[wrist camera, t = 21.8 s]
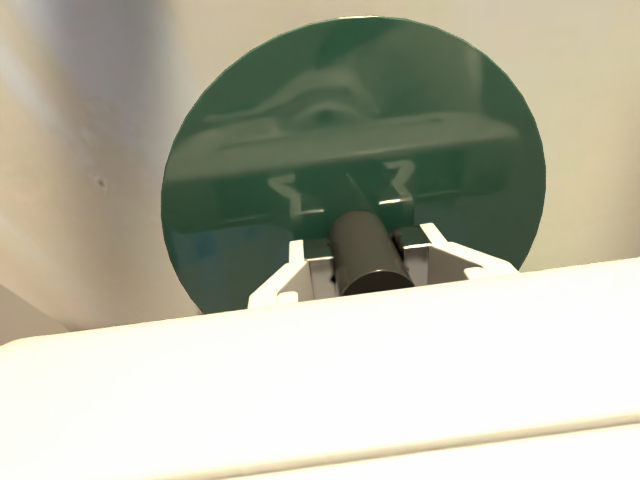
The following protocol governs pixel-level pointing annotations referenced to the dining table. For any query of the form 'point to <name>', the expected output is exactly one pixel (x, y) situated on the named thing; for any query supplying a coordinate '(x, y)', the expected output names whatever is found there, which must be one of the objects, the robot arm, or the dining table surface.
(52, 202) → the dining table surface
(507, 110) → the lid
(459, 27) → the dining table surface
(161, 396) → the robot arm
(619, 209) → the dining table surface
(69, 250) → the dining table surface
